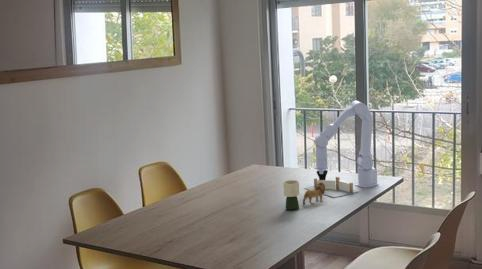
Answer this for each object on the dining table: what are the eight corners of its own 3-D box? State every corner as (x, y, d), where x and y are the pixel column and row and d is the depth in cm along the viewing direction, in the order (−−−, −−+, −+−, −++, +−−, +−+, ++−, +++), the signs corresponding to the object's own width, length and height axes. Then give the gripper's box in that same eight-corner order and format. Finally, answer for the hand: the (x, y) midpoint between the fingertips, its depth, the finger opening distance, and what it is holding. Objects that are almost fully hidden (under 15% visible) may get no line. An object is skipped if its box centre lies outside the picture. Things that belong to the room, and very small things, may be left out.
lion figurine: (320, 198, 295) (319, 180, 293) (328, 200, 291) (327, 182, 290) (299, 205, 285) (298, 186, 284) (308, 207, 281) (307, 188, 280)
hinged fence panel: (335, 187, 311) (335, 178, 310) (335, 188, 309) (334, 178, 308) (314, 187, 313) (314, 178, 312) (314, 188, 312) (313, 179, 311)
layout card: (328, 183, 322) (328, 182, 322) (359, 192, 302) (359, 191, 302) (304, 188, 314) (304, 188, 314) (334, 198, 294) (334, 197, 294)
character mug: (304, 211, 276) (303, 183, 274) (290, 213, 274) (288, 185, 271) (294, 205, 286) (293, 178, 284) (280, 207, 284) (279, 180, 282)
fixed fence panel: (335, 188, 310) (334, 177, 309) (338, 187, 311) (337, 176, 310) (350, 193, 300) (350, 181, 299) (354, 192, 301) (353, 180, 300)
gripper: (314, 156, 318) (315, 181, 320) (312, 162, 304) (313, 188, 306) (328, 155, 316) (329, 181, 319) (327, 161, 302) (327, 188, 305)
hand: (322, 184), depth 312 cm, fingers closed, pressing on hinged fence panel
